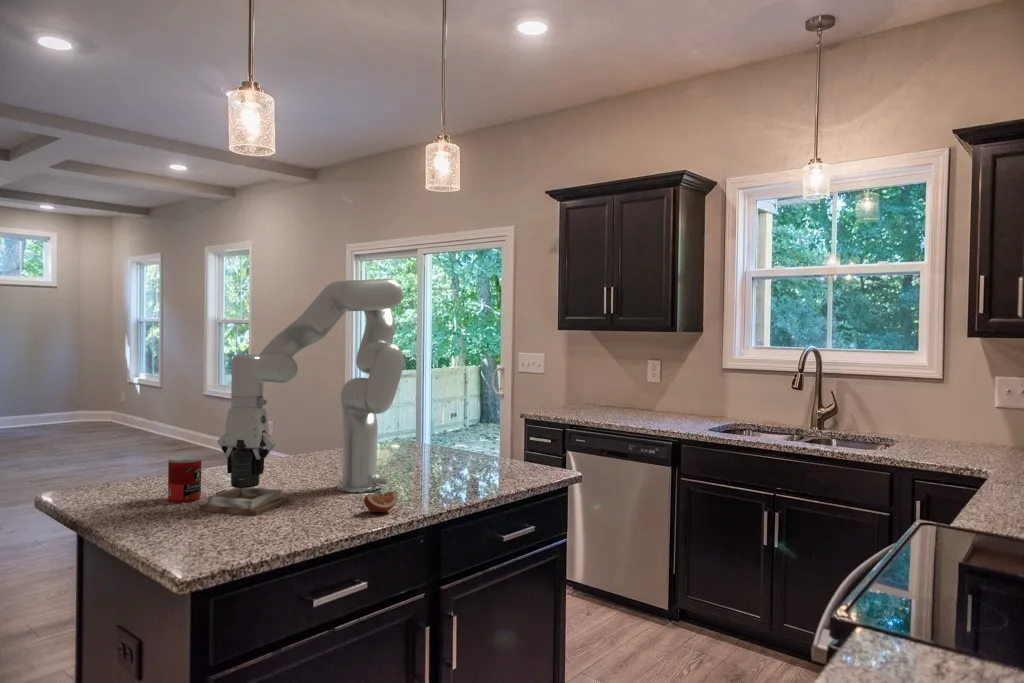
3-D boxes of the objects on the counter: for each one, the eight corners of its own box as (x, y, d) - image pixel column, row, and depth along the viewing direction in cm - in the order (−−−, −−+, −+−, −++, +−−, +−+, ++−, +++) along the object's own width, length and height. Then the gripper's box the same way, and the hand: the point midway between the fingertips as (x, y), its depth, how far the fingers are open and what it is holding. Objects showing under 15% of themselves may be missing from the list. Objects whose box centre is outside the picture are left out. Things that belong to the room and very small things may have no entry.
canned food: (188, 504, 170) (188, 461, 170) (160, 502, 172) (161, 459, 171) (207, 497, 177) (208, 456, 177) (181, 495, 179) (181, 454, 179)
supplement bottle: (235, 482, 172) (236, 436, 172) (262, 482, 172) (263, 436, 172) (226, 488, 165) (227, 440, 165) (254, 488, 166) (255, 440, 166)
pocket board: (289, 502, 174) (289, 489, 174) (256, 515, 160) (256, 502, 160) (235, 497, 178) (235, 485, 178) (199, 510, 164) (199, 497, 164)
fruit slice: (389, 507, 171) (390, 488, 171) (402, 513, 165) (403, 493, 165) (359, 512, 165) (360, 492, 165) (372, 518, 160) (372, 497, 160)
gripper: (285, 403, 170) (284, 473, 170) (227, 400, 174) (225, 468, 175) (268, 406, 163) (266, 478, 163) (207, 402, 167) (205, 473, 167)
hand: (245, 472), depth 169 cm, fingers closed on supplement bottle, 6 cm apart
